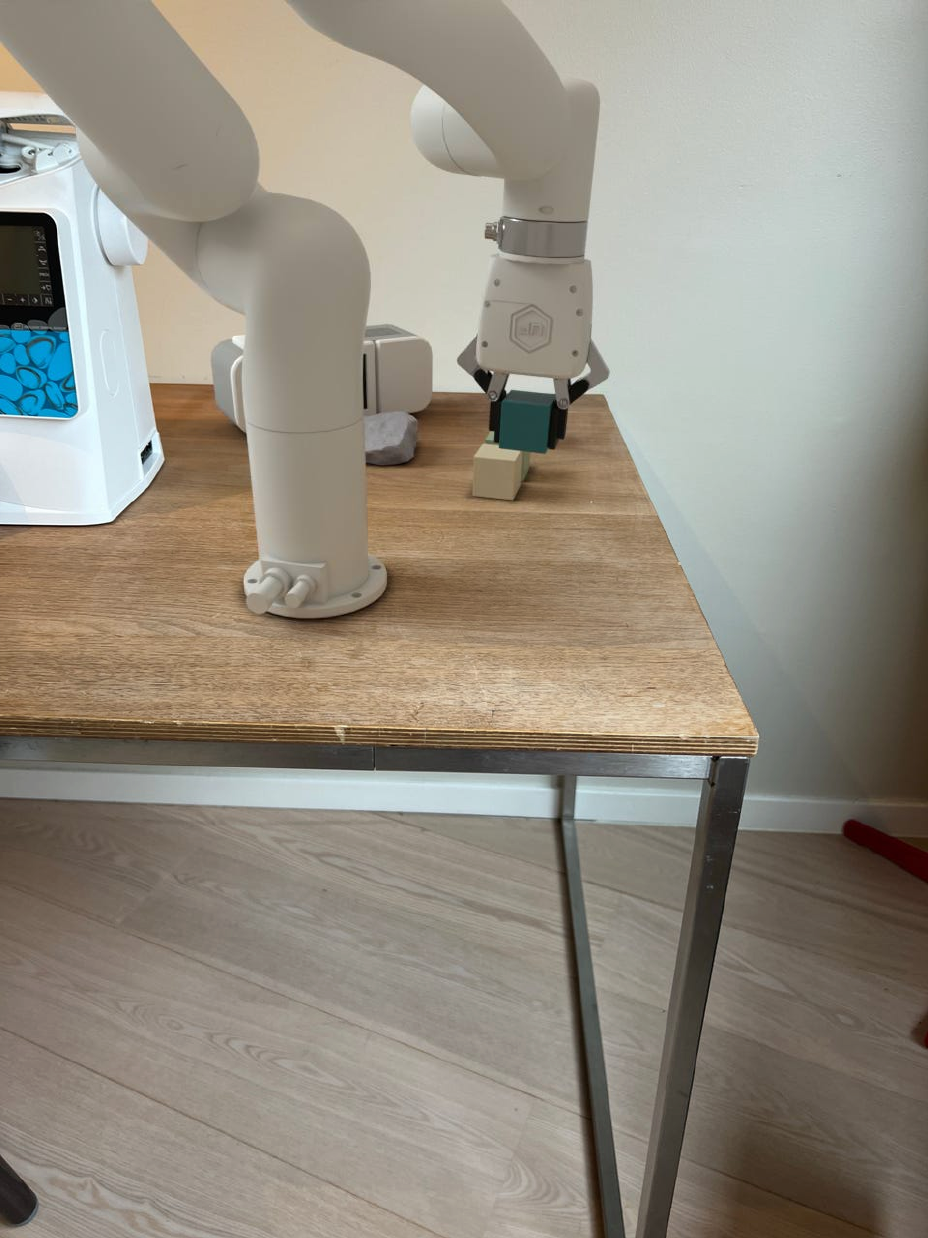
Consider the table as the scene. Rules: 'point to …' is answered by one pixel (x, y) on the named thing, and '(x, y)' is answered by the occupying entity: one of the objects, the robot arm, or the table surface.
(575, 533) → the table surface
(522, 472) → the sage block
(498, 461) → the cream block
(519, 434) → the teal block
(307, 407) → the robot arm
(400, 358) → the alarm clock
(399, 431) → the stone block
